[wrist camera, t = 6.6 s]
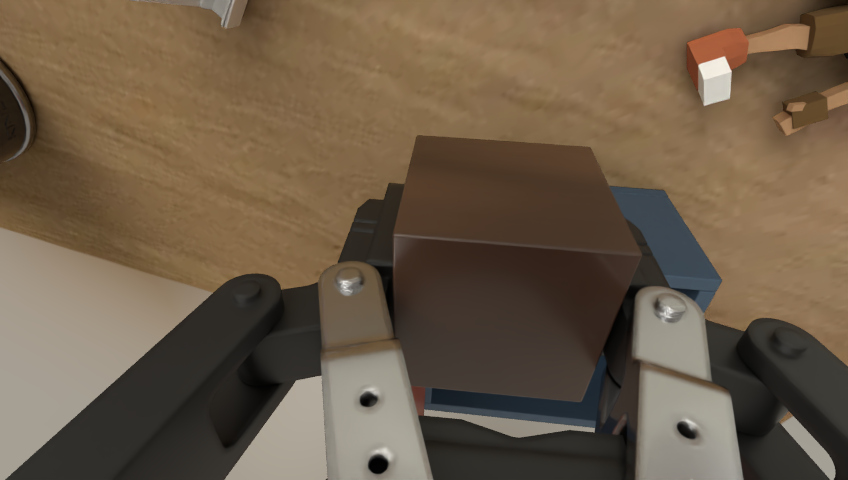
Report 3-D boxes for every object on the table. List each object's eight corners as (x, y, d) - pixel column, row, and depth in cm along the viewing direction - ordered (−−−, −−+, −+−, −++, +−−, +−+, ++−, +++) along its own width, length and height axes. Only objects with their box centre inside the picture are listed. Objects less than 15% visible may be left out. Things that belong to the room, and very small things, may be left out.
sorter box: (664, 190, 29) (723, 280, 22) (606, 333, 37) (635, 432, 30) (438, 172, 30) (426, 254, 23) (429, 316, 38) (418, 409, 31)
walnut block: (413, 266, 15) (393, 385, 11) (416, 134, 12) (392, 234, 8) (554, 277, 14) (582, 403, 11) (591, 146, 12) (643, 254, 8)
